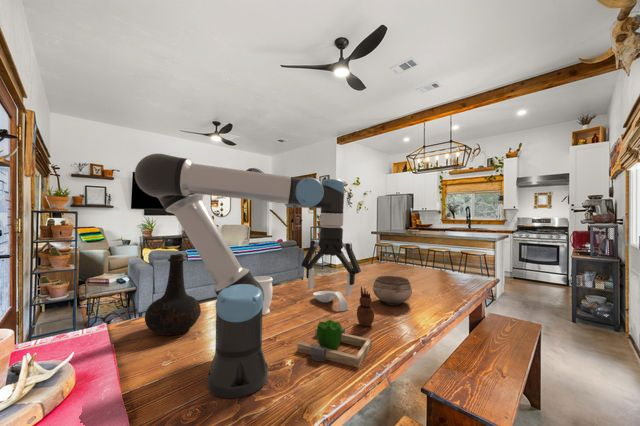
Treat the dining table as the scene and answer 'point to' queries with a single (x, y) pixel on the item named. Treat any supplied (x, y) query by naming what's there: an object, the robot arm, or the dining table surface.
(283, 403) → the dining table surface
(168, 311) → the glass bottle
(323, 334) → the bell pepper
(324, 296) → the spoon rest
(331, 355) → the tan wooden u-shaped frame
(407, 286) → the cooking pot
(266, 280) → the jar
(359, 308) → the wooden figurine
